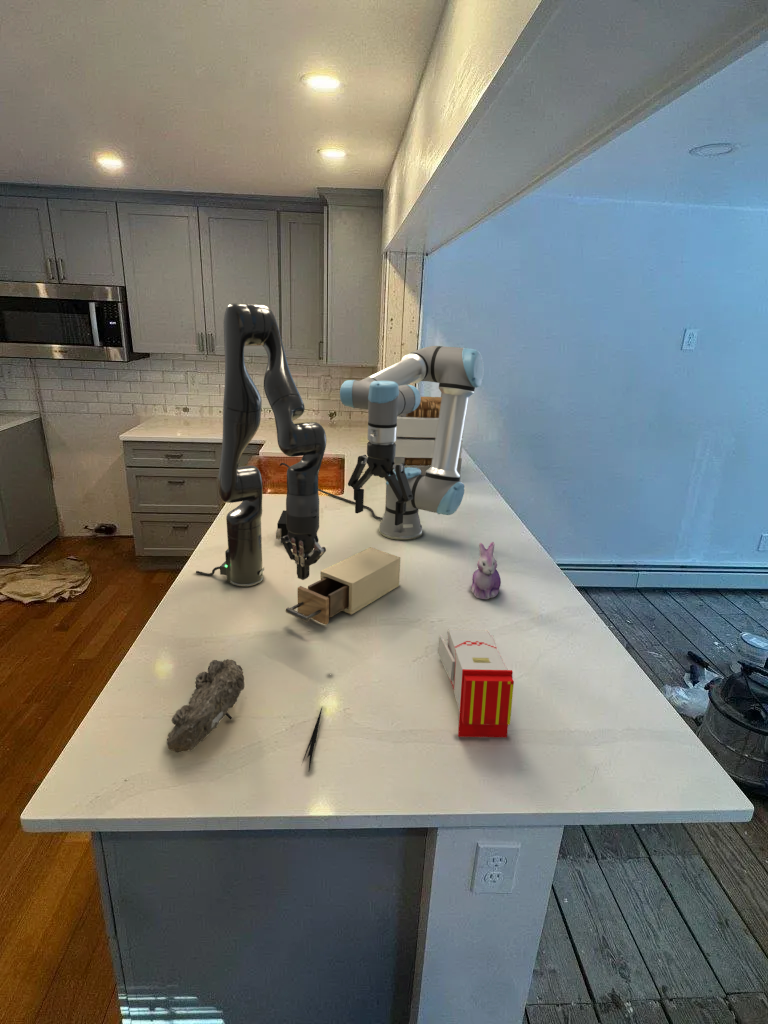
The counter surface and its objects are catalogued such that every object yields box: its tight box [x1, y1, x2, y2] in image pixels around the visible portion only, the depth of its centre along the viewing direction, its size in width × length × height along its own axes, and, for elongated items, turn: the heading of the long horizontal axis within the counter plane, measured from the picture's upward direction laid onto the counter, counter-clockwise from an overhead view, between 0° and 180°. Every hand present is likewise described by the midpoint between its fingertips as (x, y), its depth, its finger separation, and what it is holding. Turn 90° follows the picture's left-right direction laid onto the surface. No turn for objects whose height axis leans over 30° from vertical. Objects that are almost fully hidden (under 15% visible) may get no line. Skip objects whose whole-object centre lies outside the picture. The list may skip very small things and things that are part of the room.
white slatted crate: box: [394, 391, 465, 482], centre depth 268 cm, size 34×33×41 cm
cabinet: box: [320, 547, 401, 616], centre depth 156 cm, size 21×11×9 cm, turn 143°
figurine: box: [470, 541, 502, 600], centre depth 158 cm, size 9×10×15 cm
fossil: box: [166, 658, 245, 754], centre depth 106 cm, size 22×10×15 cm
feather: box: [301, 673, 332, 771], centre depth 108 cm, size 2×28×2 cm
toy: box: [437, 628, 515, 738], centre depth 117 cm, size 12×13×30 cm
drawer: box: [284, 577, 349, 625], centre depth 146 cm, size 26×10×7 cm, turn 143°
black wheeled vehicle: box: [275, 509, 288, 544], centre depth 191 cm, size 7×8×15 cm
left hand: (303, 578), depth 135 cm, fingers closed
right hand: (378, 518), depth 155 cm, fingers open, 13 cm apart
